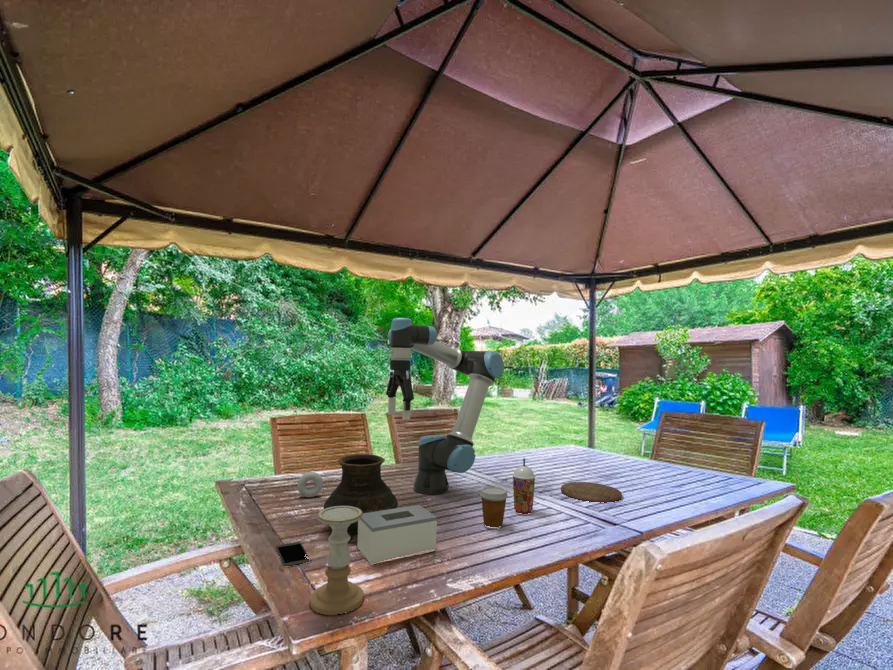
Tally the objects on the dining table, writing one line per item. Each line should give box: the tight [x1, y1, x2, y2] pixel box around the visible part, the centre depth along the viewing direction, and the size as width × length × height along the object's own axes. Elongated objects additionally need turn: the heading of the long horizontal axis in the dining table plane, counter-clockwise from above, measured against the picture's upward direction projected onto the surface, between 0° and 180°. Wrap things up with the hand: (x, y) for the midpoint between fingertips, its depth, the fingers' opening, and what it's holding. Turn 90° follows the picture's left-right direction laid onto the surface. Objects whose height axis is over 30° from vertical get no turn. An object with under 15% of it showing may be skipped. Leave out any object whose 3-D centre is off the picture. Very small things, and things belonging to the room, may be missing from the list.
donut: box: [296, 471, 324, 498], centre depth 178 cm, size 10×4×10 cm, turn 109°
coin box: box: [356, 504, 438, 564], centre depth 131 cm, size 20×12×10 cm, turn 119°
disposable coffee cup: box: [479, 486, 509, 527], centre depth 152 cm, size 10×10×12 cm
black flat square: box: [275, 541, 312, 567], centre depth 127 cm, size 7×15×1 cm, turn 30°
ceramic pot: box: [323, 453, 399, 533], centre depth 148 cm, size 24×24×22 cm
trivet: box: [560, 481, 623, 504], centre depth 192 cm, size 25×25×2 cm
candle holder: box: [309, 506, 365, 616], centre depth 104 cm, size 12×12×20 cm
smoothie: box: [512, 457, 536, 514], centre depth 166 cm, size 8×8×20 cm
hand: (398, 417), depth 164 cm, fingers open, 13 cm apart
